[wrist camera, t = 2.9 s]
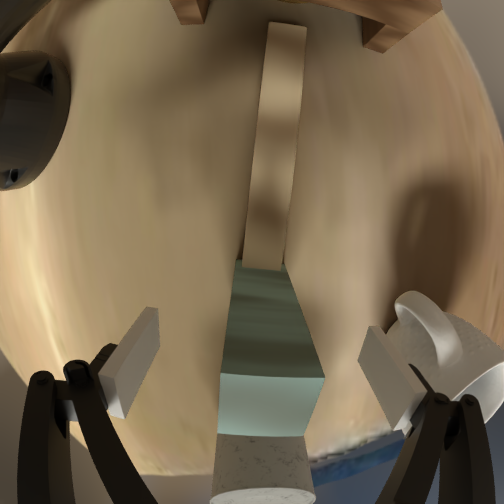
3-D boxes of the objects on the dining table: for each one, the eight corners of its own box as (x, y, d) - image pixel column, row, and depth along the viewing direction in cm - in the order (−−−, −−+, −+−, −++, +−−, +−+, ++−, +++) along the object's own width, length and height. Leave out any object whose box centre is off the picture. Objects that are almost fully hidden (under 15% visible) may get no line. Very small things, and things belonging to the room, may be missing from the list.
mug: (331, 303, 24) (389, 406, 12) (424, 239, 23) (524, 290, 10) (380, 389, 28) (421, 470, 15) (451, 338, 26) (511, 401, 14)
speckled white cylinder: (215, 388, 27) (203, 485, 15) (304, 387, 27) (325, 482, 15) (221, 437, 30) (214, 516, 18) (295, 436, 30) (307, 514, 18)
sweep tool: (277, 306, 24) (302, 436, 11) (232, 302, 24) (217, 433, 11) (308, 37, 18) (362, -68, 4) (261, 30, 18) (274, -87, 4)
